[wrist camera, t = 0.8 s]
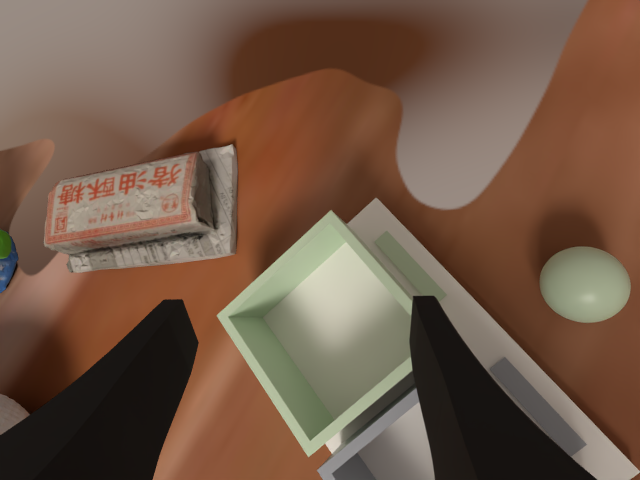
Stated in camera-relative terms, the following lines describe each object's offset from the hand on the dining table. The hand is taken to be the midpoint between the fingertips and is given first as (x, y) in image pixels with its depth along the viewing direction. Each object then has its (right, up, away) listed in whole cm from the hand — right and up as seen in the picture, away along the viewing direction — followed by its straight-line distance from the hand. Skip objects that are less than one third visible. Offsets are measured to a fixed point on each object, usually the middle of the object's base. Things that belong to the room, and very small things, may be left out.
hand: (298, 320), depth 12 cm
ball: (+16, 0, +10) cm, 19 cm away
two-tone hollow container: (+7, -7, +15) cm, 18 cm away
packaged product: (-15, +5, +25) cm, 30 cm away
